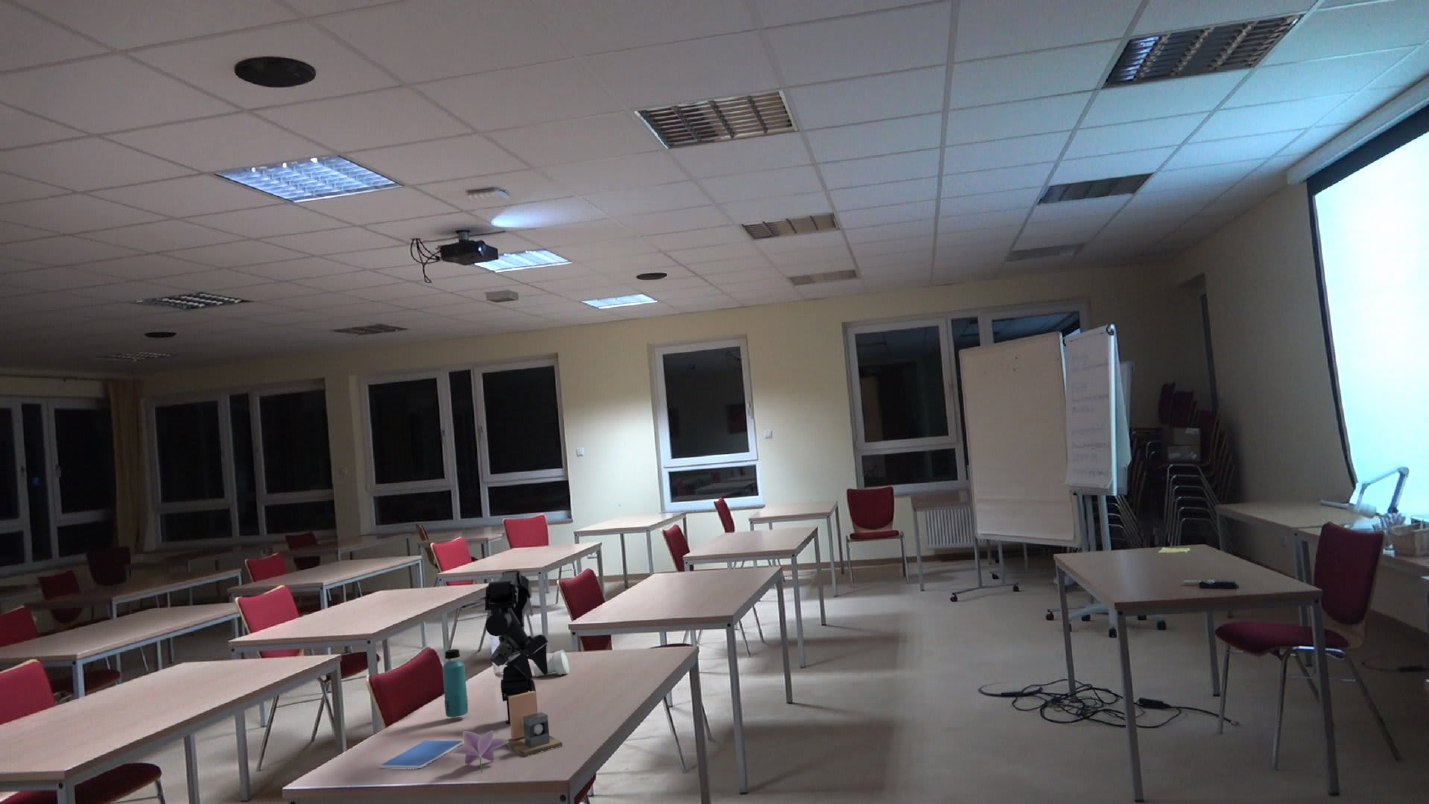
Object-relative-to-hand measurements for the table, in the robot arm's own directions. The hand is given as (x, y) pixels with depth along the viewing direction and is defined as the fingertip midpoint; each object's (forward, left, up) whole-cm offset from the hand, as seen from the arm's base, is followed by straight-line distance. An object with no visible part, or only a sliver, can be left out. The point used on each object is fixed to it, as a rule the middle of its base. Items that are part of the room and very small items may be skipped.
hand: (538, 676), depth 234 cm
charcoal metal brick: (+3, -12, -15) cm, 19 cm away
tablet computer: (-27, -15, -16) cm, 34 cm away
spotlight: (-21, +62, -15) cm, 67 cm away
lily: (-6, -25, -15) cm, 30 cm away
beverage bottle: (-33, +15, -15) cm, 39 cm away
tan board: (+1, -10, -15) cm, 18 cm away
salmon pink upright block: (+1, -9, -13) cm, 16 cm away
